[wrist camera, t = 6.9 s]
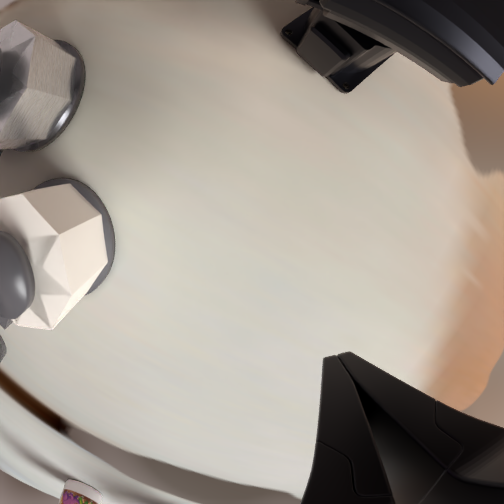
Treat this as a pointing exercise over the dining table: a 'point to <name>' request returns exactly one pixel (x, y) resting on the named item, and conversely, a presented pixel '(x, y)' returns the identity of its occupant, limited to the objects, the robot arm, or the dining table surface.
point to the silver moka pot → (36, 87)
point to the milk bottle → (79, 494)
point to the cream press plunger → (14, 278)
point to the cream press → (59, 246)
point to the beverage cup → (2, 349)
